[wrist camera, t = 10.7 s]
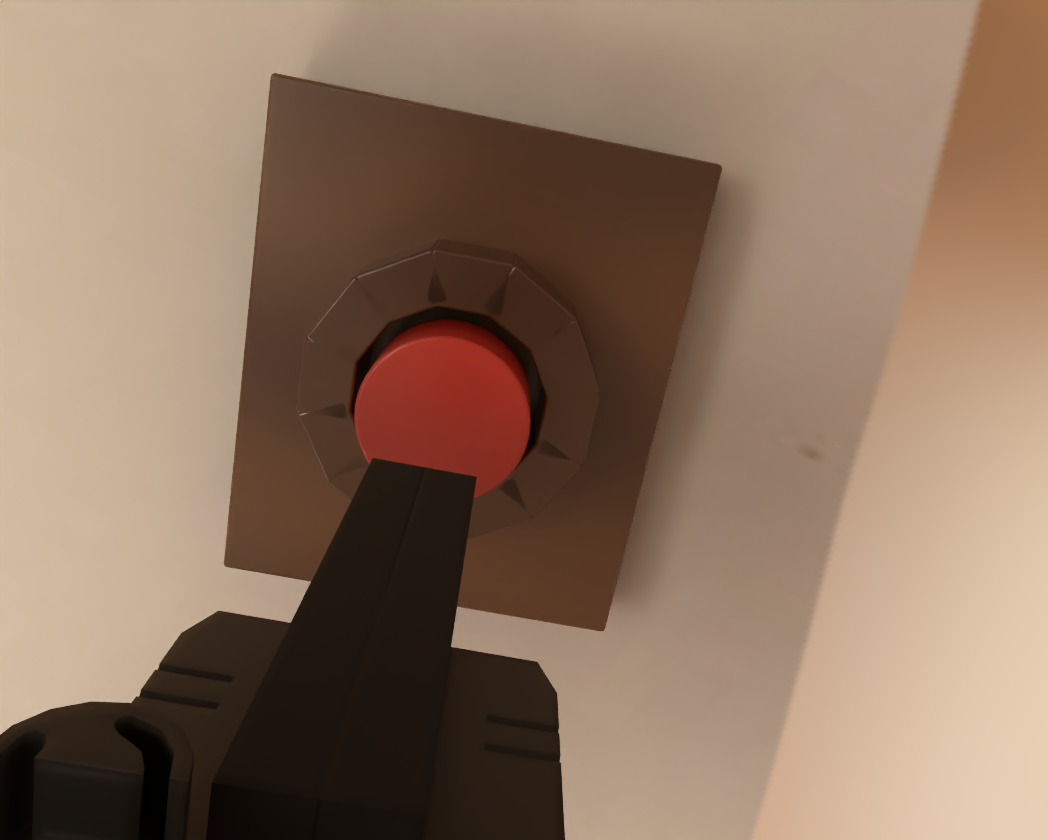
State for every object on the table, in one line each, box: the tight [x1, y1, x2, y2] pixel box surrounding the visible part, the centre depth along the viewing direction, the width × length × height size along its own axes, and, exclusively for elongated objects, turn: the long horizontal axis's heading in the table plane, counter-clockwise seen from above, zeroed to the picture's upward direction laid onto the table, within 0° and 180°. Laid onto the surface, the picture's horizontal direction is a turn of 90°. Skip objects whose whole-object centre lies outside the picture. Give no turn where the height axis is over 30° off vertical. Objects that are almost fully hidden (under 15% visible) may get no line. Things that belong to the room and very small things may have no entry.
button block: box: [224, 73, 722, 631], centre depth 21 cm, size 12×10×4 cm
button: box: [354, 320, 530, 498], centre depth 18 cm, size 4×4×2 cm
